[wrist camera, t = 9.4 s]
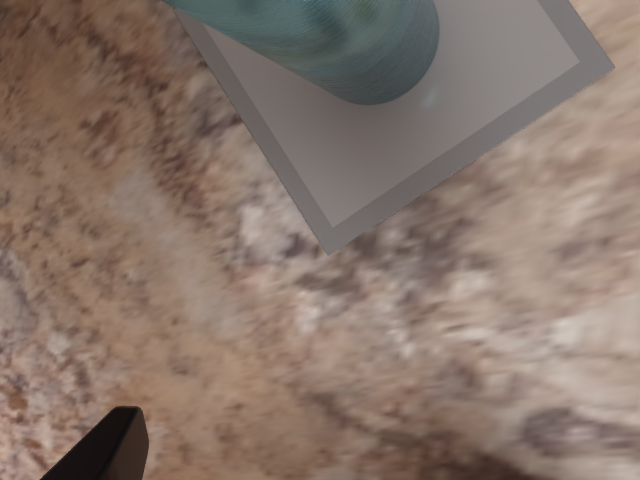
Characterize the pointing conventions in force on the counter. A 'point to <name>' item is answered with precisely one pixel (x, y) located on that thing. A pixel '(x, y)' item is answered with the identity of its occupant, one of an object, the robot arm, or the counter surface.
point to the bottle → (333, 40)
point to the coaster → (406, 109)
